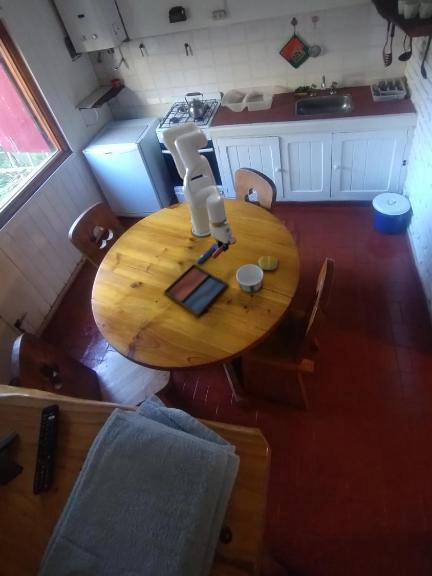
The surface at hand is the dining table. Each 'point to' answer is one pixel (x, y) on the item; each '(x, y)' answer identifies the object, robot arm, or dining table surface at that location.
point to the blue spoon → (207, 253)
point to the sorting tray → (196, 289)
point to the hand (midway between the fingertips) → (223, 248)
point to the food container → (250, 277)
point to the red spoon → (221, 249)
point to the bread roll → (268, 262)
